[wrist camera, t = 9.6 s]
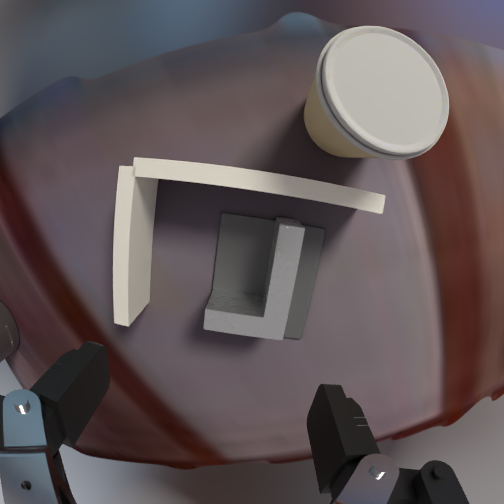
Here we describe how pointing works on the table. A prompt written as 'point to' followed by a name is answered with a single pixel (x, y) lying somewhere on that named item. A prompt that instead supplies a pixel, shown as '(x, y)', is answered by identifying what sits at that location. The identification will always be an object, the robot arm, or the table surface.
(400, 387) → the table surface
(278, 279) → the bracket
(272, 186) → the corner wall
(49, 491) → the robot arm
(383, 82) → the coffee cup
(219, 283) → the mat
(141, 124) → the table surface
